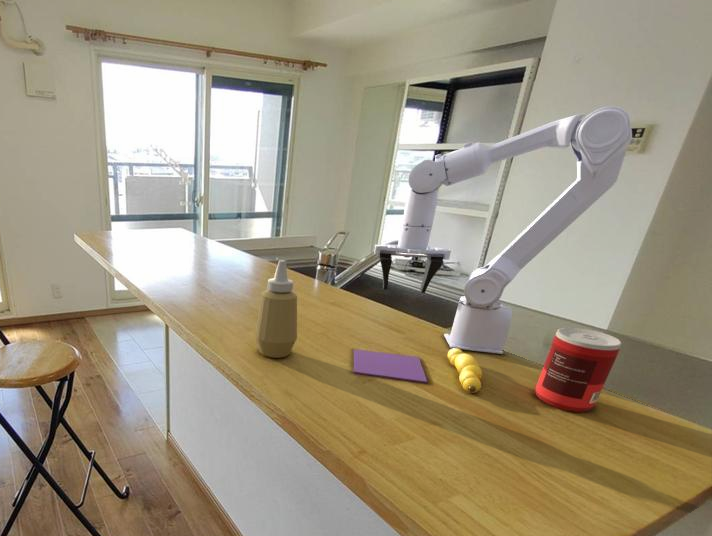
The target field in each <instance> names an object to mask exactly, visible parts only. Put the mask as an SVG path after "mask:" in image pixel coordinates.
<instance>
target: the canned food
mask: <svg viewBox="0 0 712 536" xmlns="http://www.w3.org/2000/svg"><path fill="white" fill-rule="evenodd" d="M621 347H622V341H621V340H620V339H618V338H616V337H615V336H612V335H610V334H607V333H604V332H601V331H598V330H594V329H593V330H591V329H586V328H581V327H563V328H562V327H561V328H558V329H557V330H556V332H555V335H554V338H553V340H552V342H551V345H550V348H549V351H548V353H547V357H546V358H545V362H544V364H543V367H542V370H541V373H540V376H539V378H538V381H537V383H536V385H535V396H536V397H537V398H538V400H540V401H541V402H543V403H545V404H547V405H549V406H550V407H553V408H555V409H559V410H563V411H568V412H574V413H584V412H589V411H590V410H592V409H593V407H595V405H596V404H597V402H598V400H599V397H600V395H601V394H602V393H601V392H602V390H603V388H604V386H605V384H606V381H607V379H608V377H609V375H610V373H611V371H612V369H613V366H614V364H615V362H616V360H617V357H618V356H619V352H620V351H621V350H620V349H621Z"/></svg>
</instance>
